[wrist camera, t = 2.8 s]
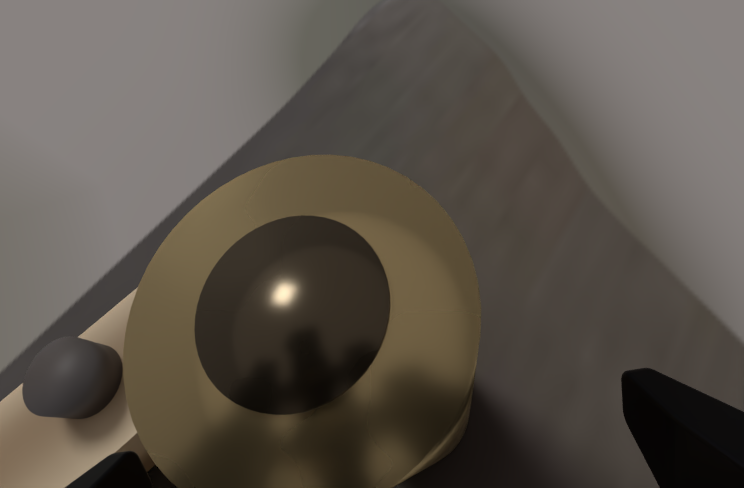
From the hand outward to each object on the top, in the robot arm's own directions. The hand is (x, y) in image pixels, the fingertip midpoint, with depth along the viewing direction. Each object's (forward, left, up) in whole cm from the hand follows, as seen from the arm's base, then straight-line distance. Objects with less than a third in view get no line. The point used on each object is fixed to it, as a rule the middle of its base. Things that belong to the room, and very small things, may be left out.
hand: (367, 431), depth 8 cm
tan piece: (+1, -1, -9) cm, 9 cm away
